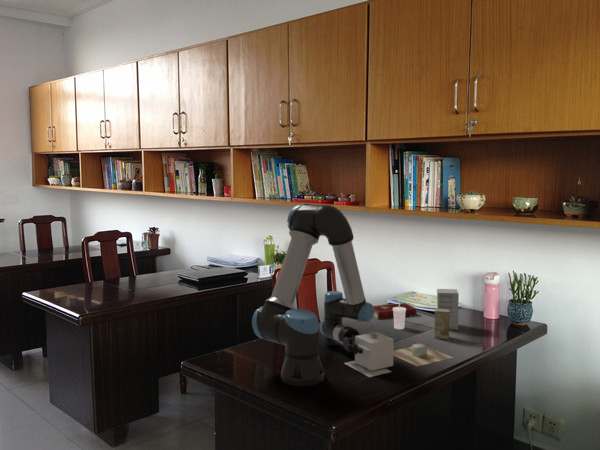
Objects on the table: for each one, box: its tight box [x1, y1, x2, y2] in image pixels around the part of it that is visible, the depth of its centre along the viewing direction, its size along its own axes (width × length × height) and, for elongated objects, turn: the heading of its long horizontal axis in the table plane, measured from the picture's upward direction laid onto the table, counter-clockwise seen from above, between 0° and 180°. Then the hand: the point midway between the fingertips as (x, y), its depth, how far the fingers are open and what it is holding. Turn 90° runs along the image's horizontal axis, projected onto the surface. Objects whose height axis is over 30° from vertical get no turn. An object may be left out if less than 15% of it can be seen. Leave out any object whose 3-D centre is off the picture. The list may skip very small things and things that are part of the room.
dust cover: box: [354, 331, 394, 371], centre depth 198 cm, size 10×10×11 cm
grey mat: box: [343, 360, 393, 378], centre depth 199 cm, size 16×16×1 cm
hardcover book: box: [373, 302, 418, 320], centre depth 271 cm, size 12×21×4 cm, turn 106°
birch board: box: [393, 346, 454, 367], centre depth 209 cm, size 18×18×1 cm
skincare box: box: [433, 308, 450, 340], centre depth 232 cm, size 6×4×12 cm
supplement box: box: [436, 288, 460, 330], centre depth 248 cm, size 10×9×17 cm
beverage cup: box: [393, 297, 406, 330], centre depth 247 cm, size 6×6×14 cm
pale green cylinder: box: [411, 343, 428, 357], centre depth 209 cm, size 6×6×4 cm
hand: (381, 351), depth 194 cm, fingers closed on dust cover, 10 cm apart
